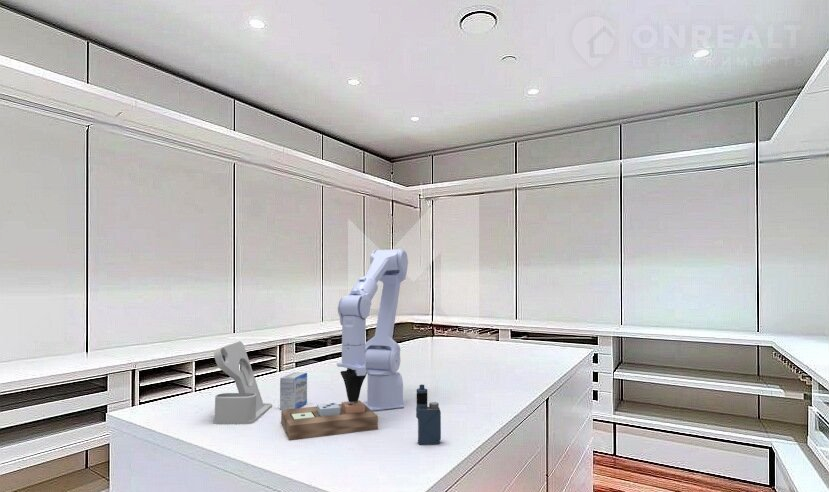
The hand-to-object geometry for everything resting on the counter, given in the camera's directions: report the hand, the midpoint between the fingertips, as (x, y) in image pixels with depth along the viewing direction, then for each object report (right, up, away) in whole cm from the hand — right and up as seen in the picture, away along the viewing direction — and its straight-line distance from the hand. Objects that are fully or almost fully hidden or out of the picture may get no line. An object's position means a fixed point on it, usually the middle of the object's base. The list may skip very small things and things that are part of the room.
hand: (353, 401), depth 114 cm
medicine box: (-18, -7, +15) cm, 24 cm away
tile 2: (0, -3, 0) cm, 3 cm away
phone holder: (-29, -6, +7) cm, 31 cm away
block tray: (-5, -5, -3) cm, 8 cm away
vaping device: (+18, -4, -15) cm, 23 cm away
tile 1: (-11, -4, -5) cm, 13 cm away
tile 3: (-6, -2, -2) cm, 7 cm away
